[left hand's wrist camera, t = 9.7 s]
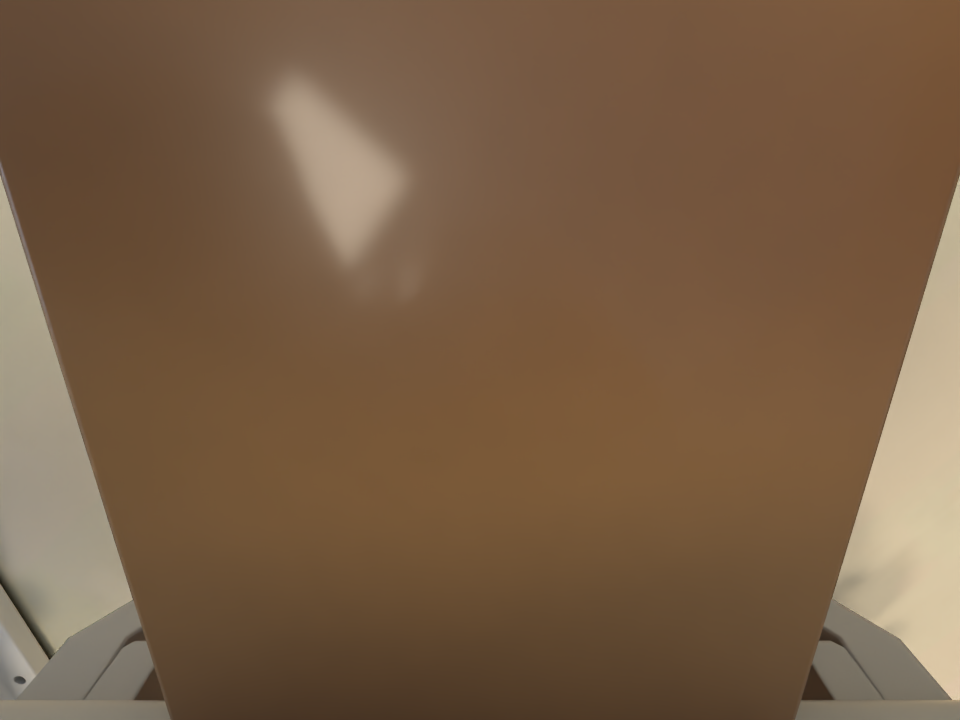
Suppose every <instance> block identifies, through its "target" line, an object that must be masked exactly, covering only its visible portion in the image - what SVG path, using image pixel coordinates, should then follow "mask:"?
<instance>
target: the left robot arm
mask: <svg viewBox="0 0 960 720" xmlns="http://www.w3.org/2000/svg"><path fill="white" fill-rule="evenodd" d="M0 720H171V719H170V716H169V713H168V710H167V706H166V703H165V700H164V697H163V694H162V690H161V687H160V684H159V681H158V678H157V674H156V671H155V668H154V665H153V662H152V658H151V655H150V652H149V649H148V646H147V642H146V639H145V636H144V633H143V630H142V626H141V623H140V620H139V617H138V614H137V610H136V607H135V604H134V601H133V600H132V601H130V602H129V603H127V604H125V605H124V606H122V607H120V608H118V609H117V610H115V611H113V612H112V613H110V614H108V615H107V616H105V617H103V618H102V619H100V620H98V621H96V622H95V623H93V624H91V625H90V626H88V627H86V628H85V629H83V630H81V631H80V632H78V633H76V634H74V635H73V636H71V637H69V638H68V639H67V640H66V641H65V643H64V644H63V645H62V646H61V647H60V648H59V650H58V651H57V652H56V653H55V654H54V655H53V657H52V658H51V659H50V660H49V659H48V657H47V655H46V654H45V652H44V651H43V649H42V648H41V646H40V645H39V643H38V642H37V640H36V638H35V637H34V635H33V634H32V632H31V631H30V629H29V628H28V626H27V624H26V623H25V621H24V620H23V618H22V617H21V615H20V614H19V612H18V610H17V609H16V607H15V606H14V604H13V603H12V601H11V600H10V598H9V597H8V595H7V593H6V592H5V590H4V589H3V587H2V586H1V584H0ZM795 720H960V700H952V699H951V698H950V697H949V696H948V694H947V693H946V692H945V691H944V690H943V689H942V687H941V686H940V685H939V684H938V683H937V682H936V680H935V679H934V678H933V677H932V676H931V675H930V673H929V672H928V671H927V670H926V669H925V668H924V666H923V665H922V664H921V663H920V662H919V661H918V659H917V658H916V657H915V656H914V655H913V654H912V652H911V651H910V650H909V649H908V648H907V647H906V645H905V644H904V643H903V642H902V641H901V640H900V639H899V638H897V637H896V636H894V635H892V634H890V633H889V632H887V631H885V630H884V629H882V628H880V627H879V626H877V625H875V624H873V623H872V622H870V621H868V620H867V619H865V618H863V617H861V616H860V615H858V614H856V613H855V612H853V611H851V610H850V609H848V608H846V607H844V606H843V605H841V604H839V603H838V602H836V601H834V600H833V599H831V602H830V606H829V609H828V612H827V616H826V619H825V622H824V626H823V629H822V632H821V636H820V639H819V642H818V645H817V649H816V652H815V655H814V659H813V662H812V665H811V669H810V672H809V675H808V679H807V682H806V685H805V688H804V692H803V695H802V698H801V702H800V705H799V708H798V712H797V715H796V718H795Z"/></svg>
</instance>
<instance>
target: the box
mask: <svg viewBox="0 0 960 720" xmlns="http://www.w3.org/2000/svg"><path fill="white" fill-rule="evenodd" d="M0 175H1V179H2V182H3V185H4V188H5V191H6V195H7V198H8V201H9V204H10V207H11V211H12V214H13V217H14V220H15V223H16V227H17V230H18V233H19V236H20V239H21V243H22V246H23V249H24V252H25V255H26V259H27V262H28V265H29V268H30V271H31V275H32V278H33V281H34V284H35V287H36V291H37V294H38V297H39V300H40V303H41V307H42V310H43V313H44V316H45V319H46V323H47V326H48V329H49V332H50V335H51V339H52V342H53V345H54V348H55V351H56V355H57V358H58V361H59V364H60V367H61V370H62V374H63V377H64V380H65V383H66V386H67V390H68V393H69V396H70V399H71V402H72V406H73V409H74V412H75V415H76V418H77V422H78V425H79V428H80V431H81V434H82V438H83V441H84V444H85V447H86V450H87V454H88V457H89V460H90V463H91V466H92V470H93V473H94V476H95V479H96V482H97V486H98V489H99V492H100V495H101V498H102V502H103V505H104V508H105V511H106V514H107V518H108V521H109V524H110V527H111V530H112V534H113V537H114V540H115V543H116V546H117V550H118V553H119V556H120V559H121V562H122V566H123V569H124V572H125V575H126V578H127V582H128V585H129V588H130V591H131V594H132V598H133V601H134V604H135V607H136V610H137V614H138V617H139V620H140V623H141V626H142V630H143V633H144V636H145V639H146V642H147V646H148V649H149V652H150V655H151V658H152V662H153V665H154V668H155V671H156V674H157V678H158V681H159V684H160V687H161V690H162V694H163V697H164V700H165V703H166V706H167V710H168V713H169V716H170V719H171V720H795V718H796V715H797V712H798V708H799V705H800V702H801V698H802V695H803V692H804V688H805V685H806V682H807V679H808V675H809V672H810V669H811V665H812V662H813V659H814V655H815V652H816V649H817V645H818V642H819V639H820V636H821V632H822V629H823V626H824V622H825V619H826V616H827V612H828V609H829V606H830V602H831V599H832V596H833V592H834V589H835V586H836V583H837V579H838V576H839V573H840V569H841V566H842V563H843V559H844V556H845V553H846V549H847V546H848V543H849V540H850V536H851V533H852V530H853V526H854V523H855V520H856V516H857V513H858V510H859V506H860V503H861V500H862V496H863V493H864V490H865V487H866V483H867V480H868V477H869V473H870V470H871V467H872V463H873V460H874V457H875V453H876V450H877V447H878V444H879V440H880V437H881V434H882V430H883V427H884V424H885V420H886V417H887V414H888V410H889V407H890V404H891V401H892V397H893V394H894V391H895V387H896V384H897V381H898V377H899V374H900V371H901V367H902V364H903V361H904V357H905V354H906V351H907V348H908V344H909V341H910V338H911V334H912V331H913V328H914V324H915V321H916V318H917V314H918V311H919V308H920V305H921V301H922V298H923V295H924V291H925V288H926V285H927V281H928V278H929V275H930V271H931V268H932V265H933V261H934V258H935V255H936V252H937V248H938V245H939V242H940V238H941V235H942V232H943V228H944V225H945V222H946V218H947V215H948V212H949V209H950V205H951V202H952V199H953V195H954V192H955V189H956V185H957V182H958V179H959V175H960V0H0Z"/></svg>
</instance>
